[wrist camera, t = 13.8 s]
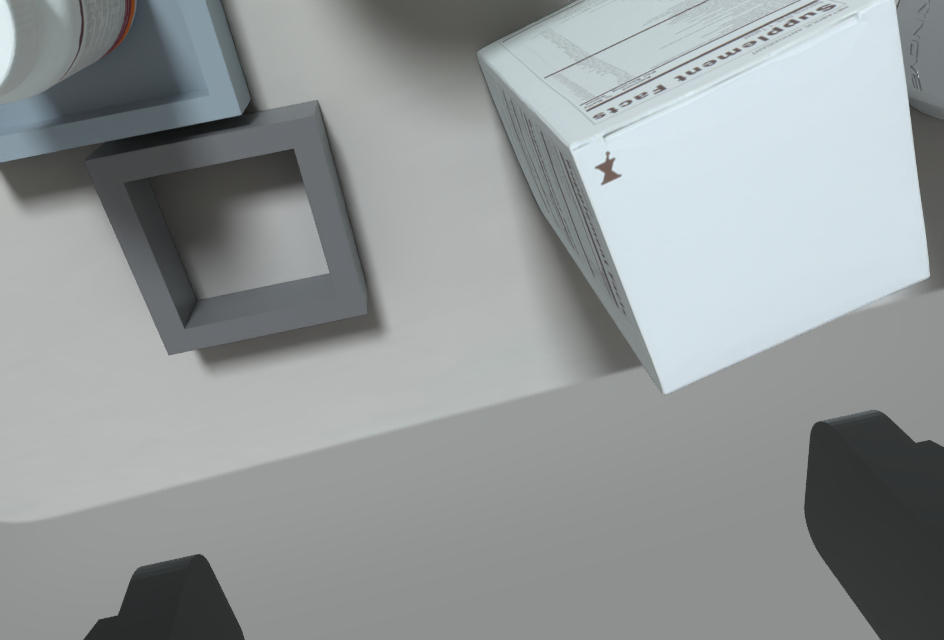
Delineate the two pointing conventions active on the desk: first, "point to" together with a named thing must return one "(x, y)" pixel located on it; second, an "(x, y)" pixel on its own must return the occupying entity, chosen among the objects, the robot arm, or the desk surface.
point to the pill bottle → (55, 40)
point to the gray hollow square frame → (155, 256)
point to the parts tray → (136, 84)
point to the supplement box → (718, 165)
